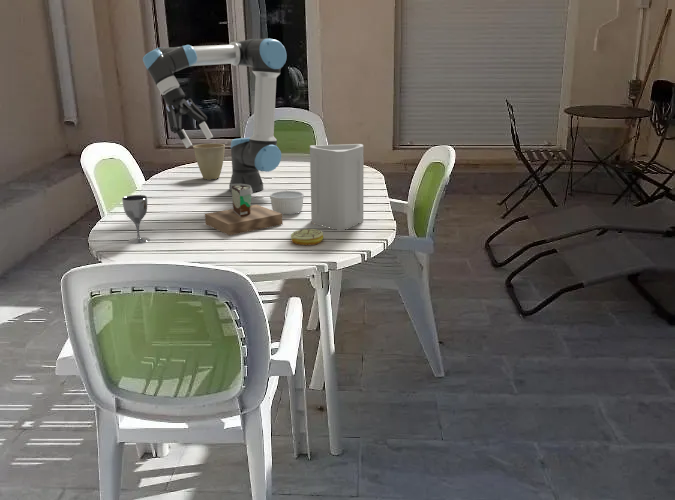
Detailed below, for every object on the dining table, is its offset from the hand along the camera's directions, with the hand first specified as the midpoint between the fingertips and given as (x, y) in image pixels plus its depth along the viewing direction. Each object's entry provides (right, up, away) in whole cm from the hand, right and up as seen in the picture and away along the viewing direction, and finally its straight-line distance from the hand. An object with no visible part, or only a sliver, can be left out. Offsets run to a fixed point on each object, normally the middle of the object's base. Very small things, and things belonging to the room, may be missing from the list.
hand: (200, 142), depth 254 cm
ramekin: (+32, -25, +12) cm, 43 cm away
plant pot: (-9, -6, +73) cm, 74 cm away
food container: (+18, -27, -6) cm, 33 cm away
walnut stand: (+17, -31, -6) cm, 36 cm away
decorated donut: (+41, -38, -26) cm, 62 cm away
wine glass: (-16, -37, -24) cm, 47 cm away
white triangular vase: (+52, -31, -7) cm, 61 cm away
